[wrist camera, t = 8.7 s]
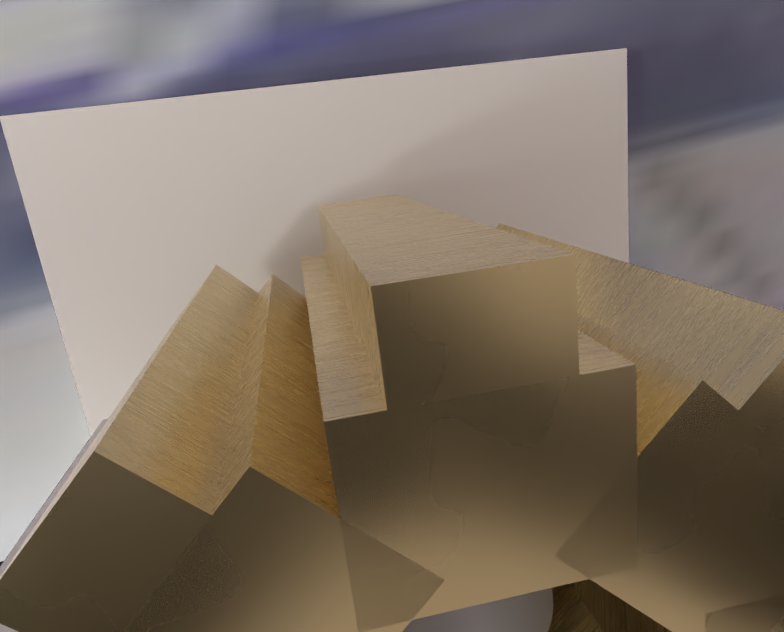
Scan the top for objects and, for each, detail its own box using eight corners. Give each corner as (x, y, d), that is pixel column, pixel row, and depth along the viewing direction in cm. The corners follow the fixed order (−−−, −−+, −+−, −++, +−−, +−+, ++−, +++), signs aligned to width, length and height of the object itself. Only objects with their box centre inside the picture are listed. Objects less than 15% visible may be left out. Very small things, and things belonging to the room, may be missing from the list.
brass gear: (205, 651, 14) (112, 1223, 7) (99, 234, 11) (-273, 386, 4) (598, 561, 16) (900, 953, 8) (587, 168, 13) (1032, 183, 5)
